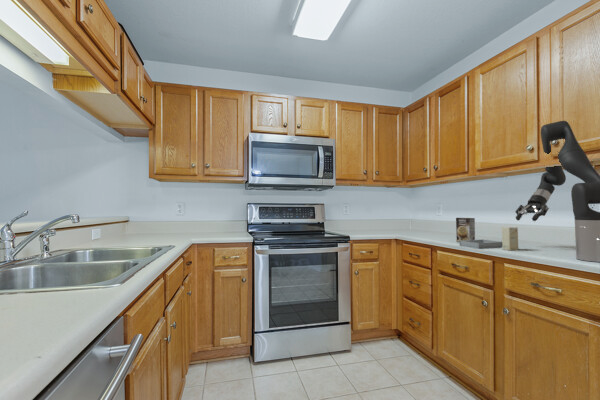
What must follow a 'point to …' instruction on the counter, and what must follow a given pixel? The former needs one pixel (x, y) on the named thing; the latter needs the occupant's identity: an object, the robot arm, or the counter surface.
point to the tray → (481, 244)
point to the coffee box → (465, 229)
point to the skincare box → (510, 238)
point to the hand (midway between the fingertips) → (525, 219)
